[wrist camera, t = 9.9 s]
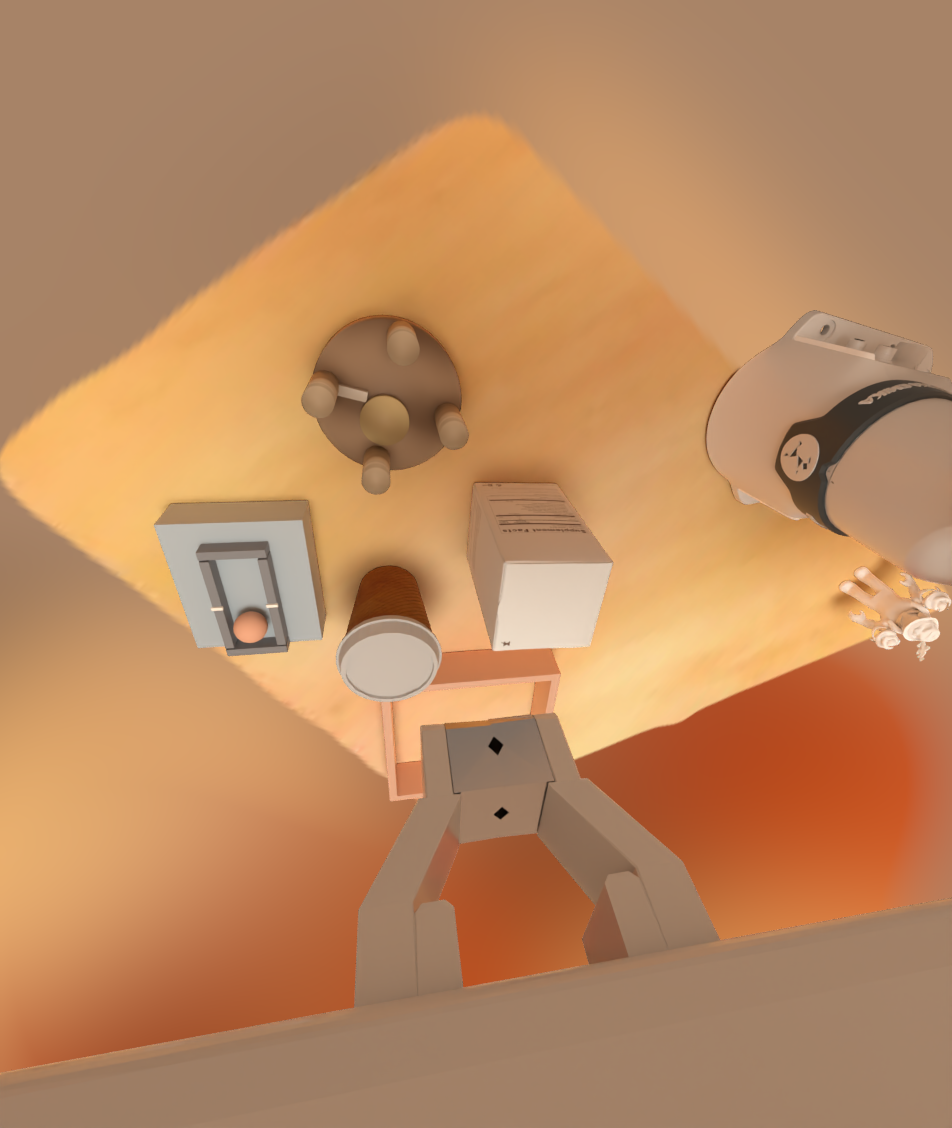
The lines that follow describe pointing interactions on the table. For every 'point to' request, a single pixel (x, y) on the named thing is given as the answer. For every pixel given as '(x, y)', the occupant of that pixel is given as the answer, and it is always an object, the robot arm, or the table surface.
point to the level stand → (245, 571)
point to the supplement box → (534, 567)
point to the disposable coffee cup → (388, 639)
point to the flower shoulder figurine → (897, 610)
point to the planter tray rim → (470, 673)
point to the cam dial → (386, 397)
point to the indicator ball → (250, 627)
